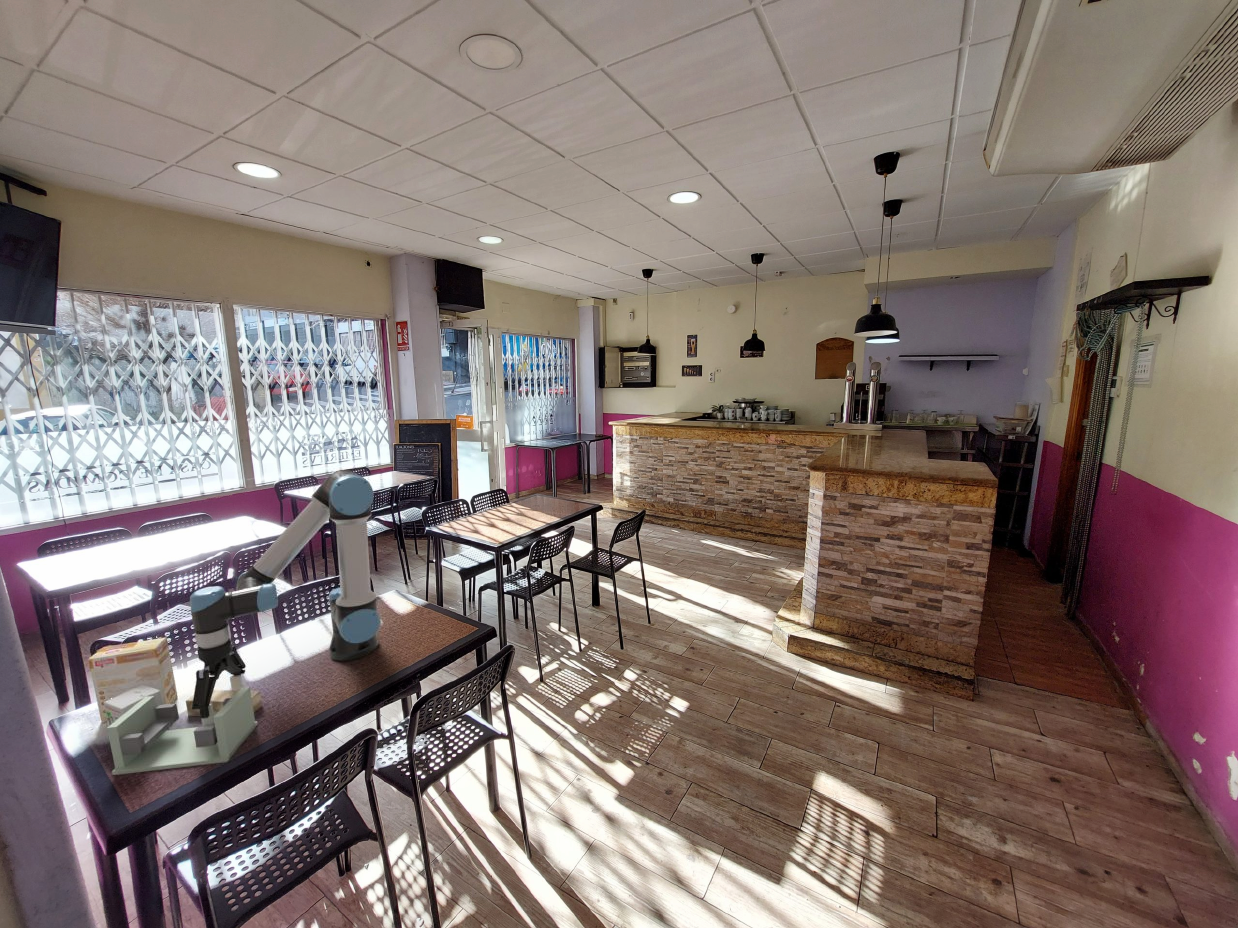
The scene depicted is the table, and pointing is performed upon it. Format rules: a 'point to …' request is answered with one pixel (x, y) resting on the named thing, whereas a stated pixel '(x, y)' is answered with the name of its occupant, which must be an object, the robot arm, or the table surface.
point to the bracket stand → (178, 736)
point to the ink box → (129, 701)
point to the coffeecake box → (132, 670)
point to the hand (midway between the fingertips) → (224, 710)
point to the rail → (218, 700)
